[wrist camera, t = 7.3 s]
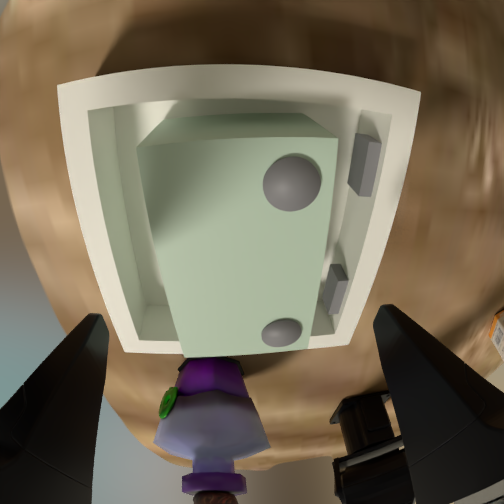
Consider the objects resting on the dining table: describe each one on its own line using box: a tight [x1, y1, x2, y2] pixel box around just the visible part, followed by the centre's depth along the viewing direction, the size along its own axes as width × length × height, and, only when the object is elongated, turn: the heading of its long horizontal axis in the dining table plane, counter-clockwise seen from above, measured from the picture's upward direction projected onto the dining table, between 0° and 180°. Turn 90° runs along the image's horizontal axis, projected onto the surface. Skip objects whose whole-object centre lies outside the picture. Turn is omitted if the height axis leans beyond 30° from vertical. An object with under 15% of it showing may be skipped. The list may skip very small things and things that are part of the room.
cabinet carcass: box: [57, 64, 421, 354], centre depth 14 cm, size 14×13×4 cm
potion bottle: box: [153, 356, 270, 504], centre depth 19 cm, size 9×9×12 cm
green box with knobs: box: [136, 113, 339, 358], centre depth 13 cm, size 10×6×5 cm, turn 1°
